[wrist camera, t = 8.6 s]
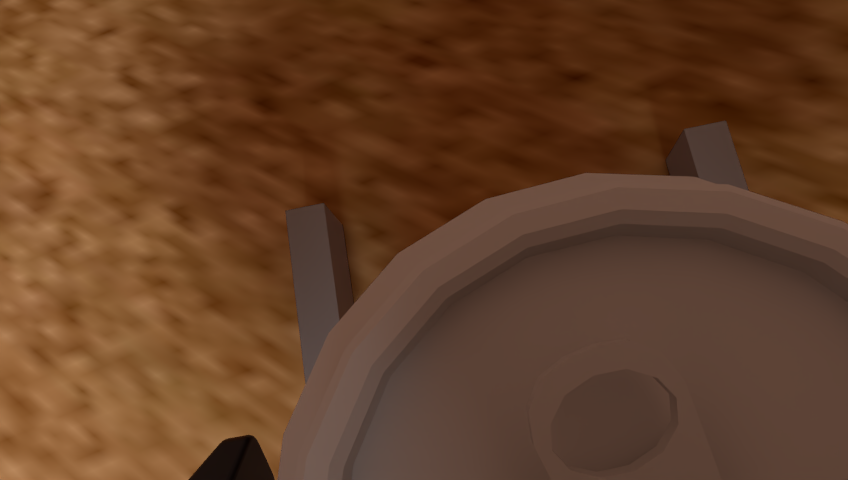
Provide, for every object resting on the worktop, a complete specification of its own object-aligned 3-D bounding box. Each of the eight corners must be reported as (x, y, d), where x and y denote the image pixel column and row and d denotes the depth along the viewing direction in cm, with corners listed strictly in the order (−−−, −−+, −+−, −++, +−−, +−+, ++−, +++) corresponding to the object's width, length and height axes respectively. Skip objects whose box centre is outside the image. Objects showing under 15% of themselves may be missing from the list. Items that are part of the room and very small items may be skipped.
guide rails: (842, 600, 15) (891, 626, 13) (363, 672, 16) (343, 707, 14) (703, 152, 18) (726, 120, 16) (308, 232, 19) (285, 210, 17)
